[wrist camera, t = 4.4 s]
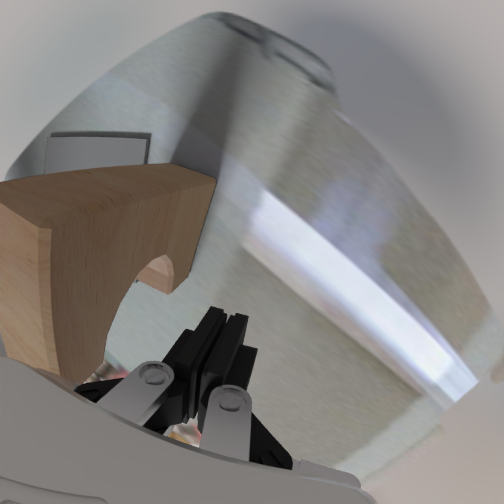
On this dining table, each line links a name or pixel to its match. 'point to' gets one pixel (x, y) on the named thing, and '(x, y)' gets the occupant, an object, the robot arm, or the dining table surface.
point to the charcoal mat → (93, 153)
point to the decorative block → (90, 254)
